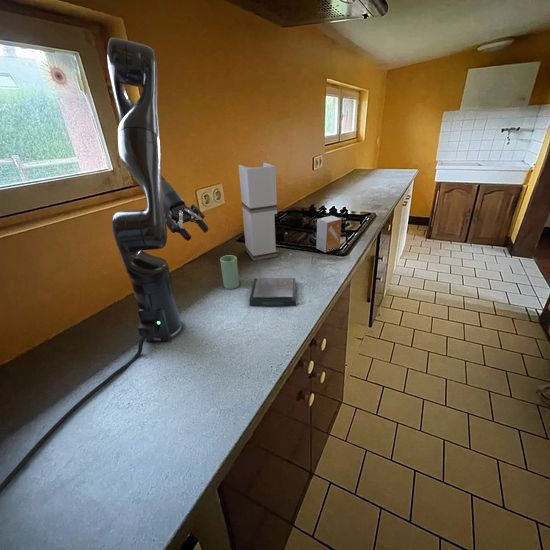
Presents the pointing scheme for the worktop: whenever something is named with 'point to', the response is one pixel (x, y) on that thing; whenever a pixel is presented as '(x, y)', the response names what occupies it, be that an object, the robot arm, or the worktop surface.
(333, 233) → the small box
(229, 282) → the cup
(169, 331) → the robot arm
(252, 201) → the tall white tower
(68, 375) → the worktop surface
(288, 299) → the scale
